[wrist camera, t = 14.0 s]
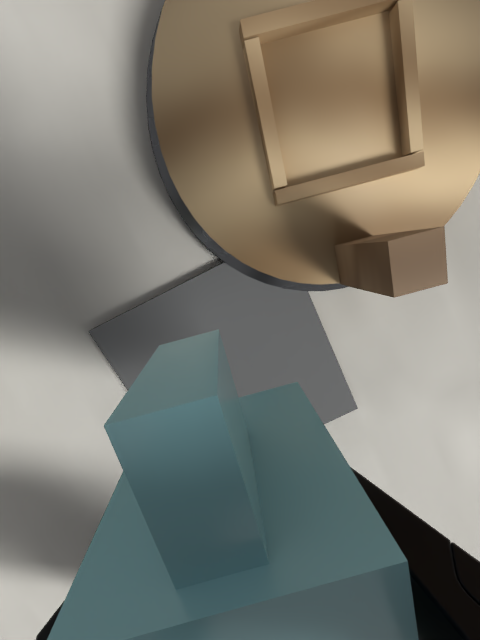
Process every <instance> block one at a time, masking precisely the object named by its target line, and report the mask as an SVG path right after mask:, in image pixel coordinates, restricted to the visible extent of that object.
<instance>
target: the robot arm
mask: <svg viewBox="0 0 480 640" xmlns="http://www.w3.org/2000/svg"><path fill="white" fill-rule="evenodd" d="M350 468H351V467H350ZM351 470H352V471H353V473H354V474H355V476H356V478H357V479H358V481H359V483H360V484H361V486H362V487H363V489H364V491H365V492H366V494H367V496H368V497H369V499H370V500H371V502H372V504H373V505H374V507H375V509H376V510H377V512H378V513H379V515H380V517H381V518H382V520H383V522H384V523H385V525H386V527H387V528H388V530H389V531H390V533H391V535H392V536H393V538H394V540H395V541H396V543H397V544H398V546H399V548H400V549H401V551H402V553H403V554H404V556H405V557H406V559H407V561H408V567H409V574H410V581H411V588H412V595H413V603H414V610H415V617H416V624H417V631H418V639H419V640H480V562H479V561H478V560H477V559H475V558H474V557H472V556H471V555H470V554H468V553H467V552H466V551H464V550H463V549H461V548H460V547H459V546H457V545H456V544H455V543H453V542H452V543H450V540H449V539H448V538H446V537H445V536H444V535H442V534H441V533H439V532H438V531H437V530H435V529H434V528H433V527H431V526H430V525H429V524H427V523H426V522H425V521H423V520H422V519H420V518H419V517H418V516H416V515H415V514H414V513H412V512H411V511H410V510H408V509H407V508H405V507H404V506H403V505H401V504H400V503H399V502H397V501H396V500H395V499H393V498H392V497H390V496H389V495H388V494H386V493H385V492H384V491H382V490H381V489H380V488H378V487H377V486H376V485H374V484H373V483H371V482H370V481H369V480H367V479H366V478H365V477H363V476H362V475H361V474H359V473H358V472H356V471H355V470H354V469H352V468H351ZM63 603H64V602H63ZM63 603H62V604H61V606H60V607H59V608H58V609H57V611H56V612H55V613H54V615H53V616H52V617H51V618H50V620H49V621H48V622H47V624H46V625H45V626H44V627H43V629H42V630H41V631H40V632H39V634H38V635H37V637H36V640H47V639H48V636H49V634H50V632H51V630H52V627H53V625H54V623H55V621H56V619H57V616H58V614H59V612H60V610H61V608H62V605H63Z"/></svg>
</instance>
